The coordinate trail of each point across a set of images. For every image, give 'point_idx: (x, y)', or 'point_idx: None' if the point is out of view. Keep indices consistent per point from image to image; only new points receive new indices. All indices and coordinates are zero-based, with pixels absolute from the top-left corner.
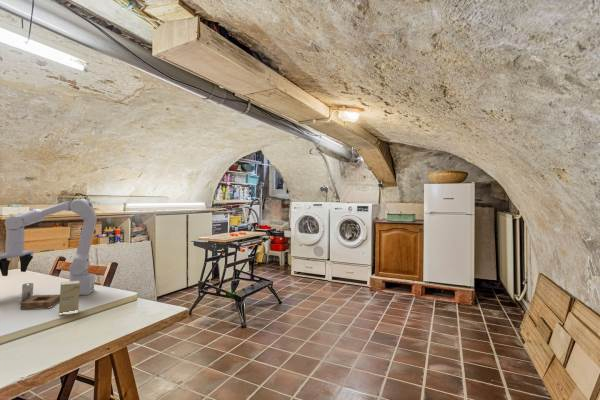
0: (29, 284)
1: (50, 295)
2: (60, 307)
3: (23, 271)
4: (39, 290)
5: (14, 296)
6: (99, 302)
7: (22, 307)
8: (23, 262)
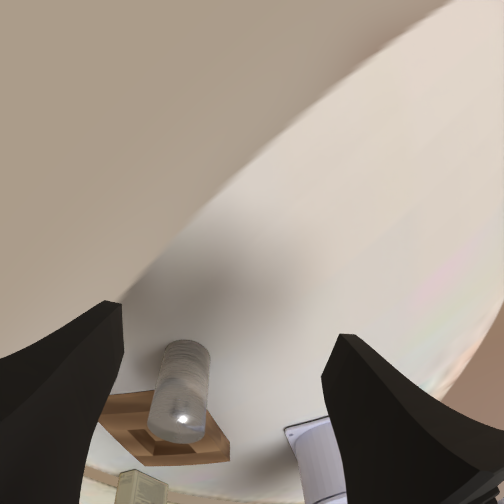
0: (175, 436)
1: (205, 446)
2: (118, 491)
3: (327, 369)
4: (366, 286)
5: (231, 247)
6: (237, 493)
7: None
8: (373, 456)
